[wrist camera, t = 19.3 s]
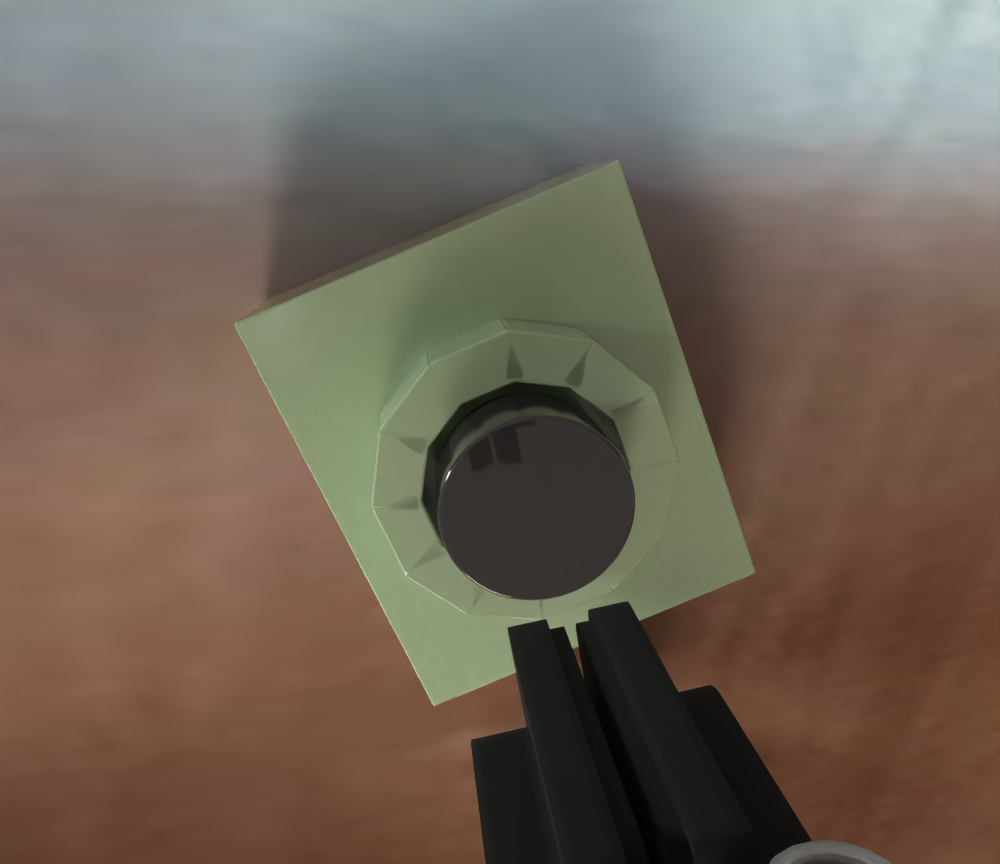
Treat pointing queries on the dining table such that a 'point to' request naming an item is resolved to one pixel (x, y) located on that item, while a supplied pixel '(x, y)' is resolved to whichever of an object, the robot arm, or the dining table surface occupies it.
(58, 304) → the dining table surface
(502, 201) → the button base
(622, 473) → the dark grey button cap
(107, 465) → the dining table surface
